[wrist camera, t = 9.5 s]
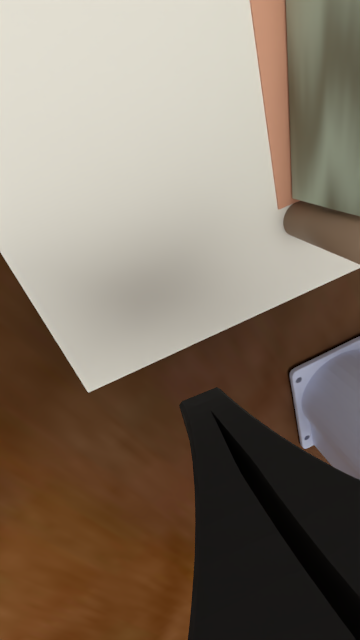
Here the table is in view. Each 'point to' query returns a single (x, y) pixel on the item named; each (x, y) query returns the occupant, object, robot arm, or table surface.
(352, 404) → the robot arm
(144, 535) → the table surface
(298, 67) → the fence panel
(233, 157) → the card
